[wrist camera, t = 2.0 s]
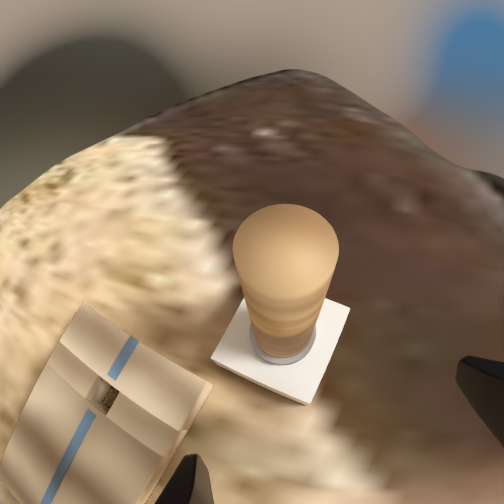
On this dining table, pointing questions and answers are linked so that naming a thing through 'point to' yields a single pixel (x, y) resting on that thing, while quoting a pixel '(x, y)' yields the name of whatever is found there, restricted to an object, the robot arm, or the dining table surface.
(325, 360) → the awl holder
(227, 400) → the dining table surface
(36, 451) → the beige flat rectangular piece
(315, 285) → the awl
